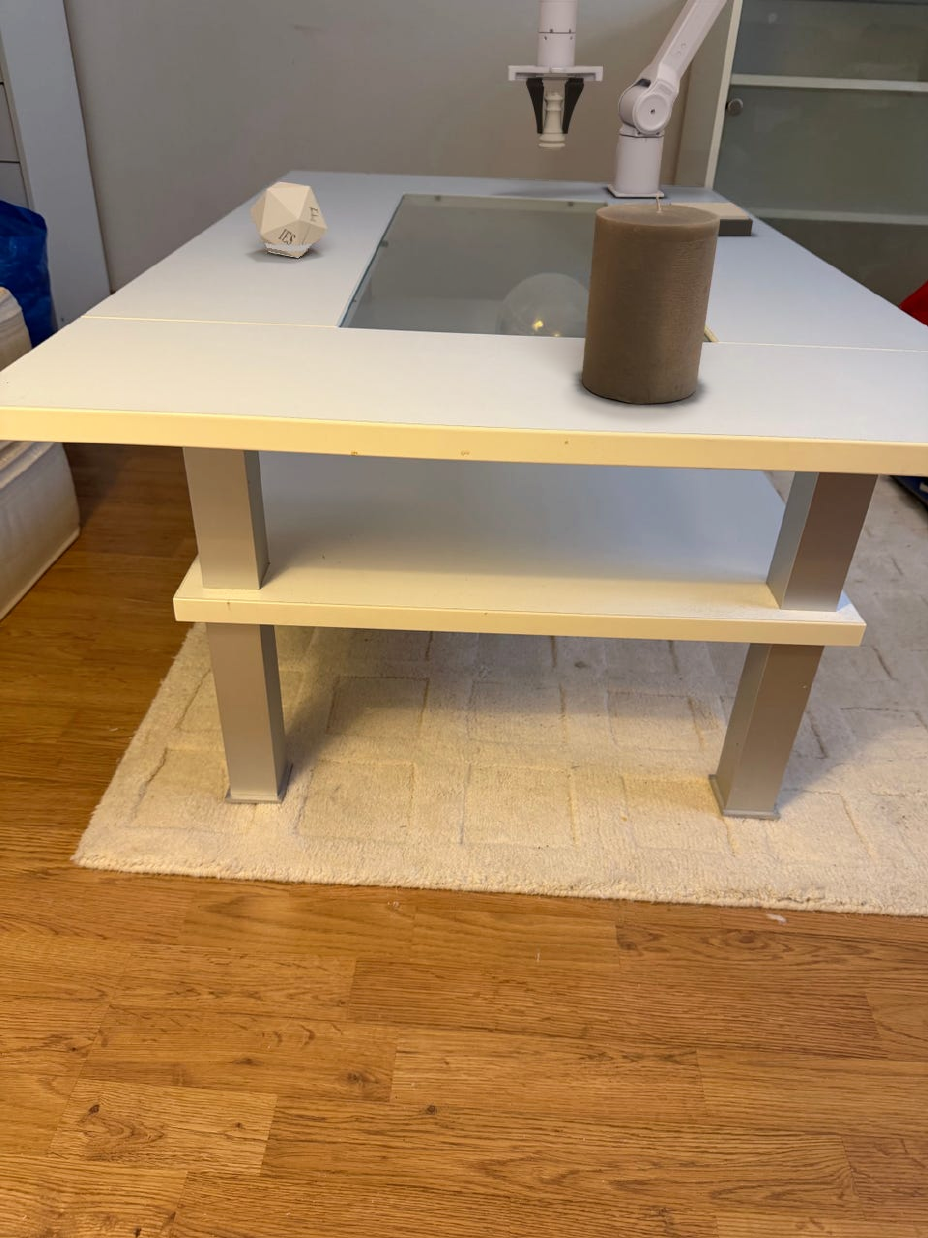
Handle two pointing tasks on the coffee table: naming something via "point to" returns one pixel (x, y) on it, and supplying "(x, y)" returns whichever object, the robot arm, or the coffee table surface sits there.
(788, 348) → the coffee table surface
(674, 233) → the pillar candle
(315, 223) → the die
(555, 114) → the rook chess piece
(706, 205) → the scale
